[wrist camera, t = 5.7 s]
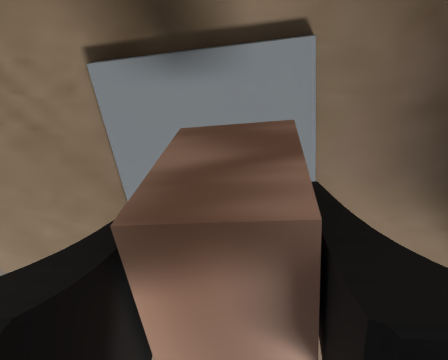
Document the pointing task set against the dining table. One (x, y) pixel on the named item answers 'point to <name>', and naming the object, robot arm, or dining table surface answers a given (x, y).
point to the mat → (204, 96)
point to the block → (226, 246)
